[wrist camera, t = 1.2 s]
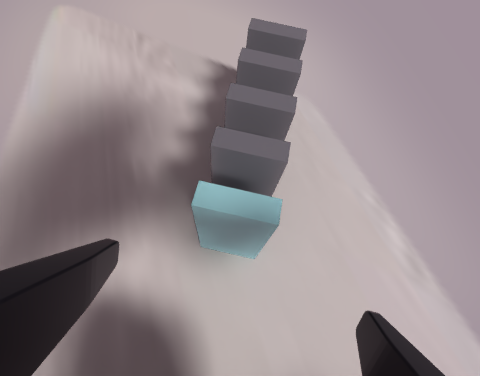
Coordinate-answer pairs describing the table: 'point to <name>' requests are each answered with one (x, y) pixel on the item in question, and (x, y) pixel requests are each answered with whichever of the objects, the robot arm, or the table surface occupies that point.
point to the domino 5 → (234, 219)
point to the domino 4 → (247, 161)
